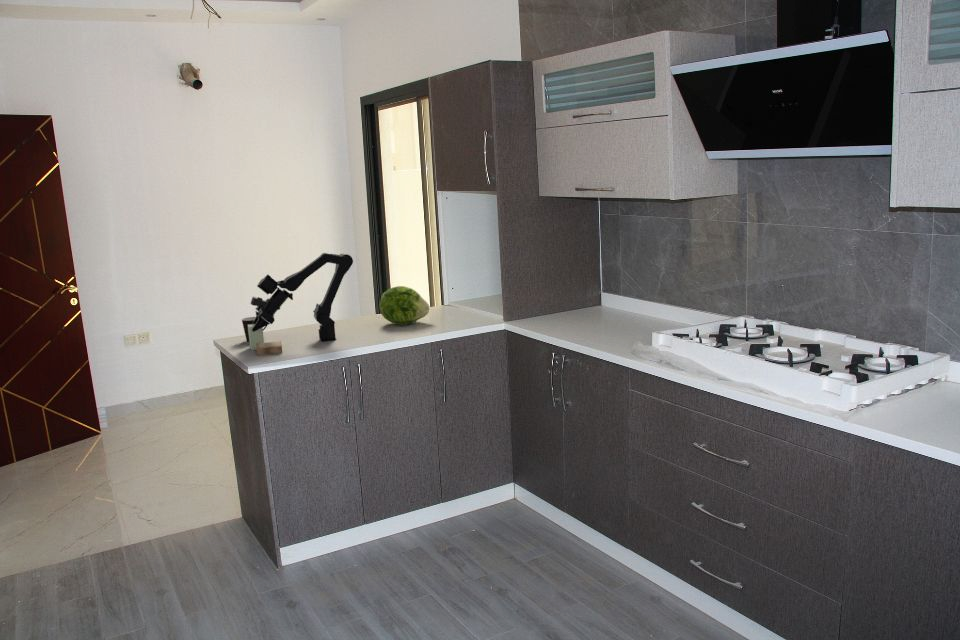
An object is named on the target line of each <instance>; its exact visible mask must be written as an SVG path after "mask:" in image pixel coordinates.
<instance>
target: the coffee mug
mask: <svg viewBox="0 0 960 640" xmlns="http://www.w3.org/2000/svg"><path fill="white" fill-rule="evenodd" d="M255 318H256V316H249V317H243V318H242V319H241V323H242V328H243V332H244V335H245V340H246V343H250V342H249V333H248V325H250V324H253V322H254V320H255ZM267 327H268V325H266V326H264V327H263V331H265V329H266V328H267Z"/></svg>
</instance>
